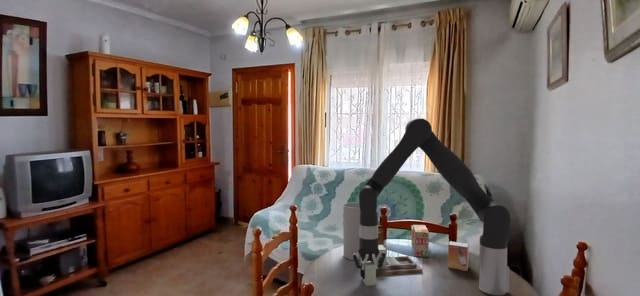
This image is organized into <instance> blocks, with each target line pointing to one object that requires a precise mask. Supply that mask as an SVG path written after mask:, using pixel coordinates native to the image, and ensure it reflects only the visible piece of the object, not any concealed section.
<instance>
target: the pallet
mask: <svg viewBox="0 0 640 296" xmlns="http://www.w3.org/2000/svg"><path fill="white" fill-rule="evenodd" d="M422 273H423V268H422V267H420V265H418V264H417V262H415V261H414V260H413V259H412V258H411V257H410V256H408V255H405V256H404V255H403V256H387V265H383V266H382V267H379V268H378V269H377V277H379V276H381V277H382V276H396V275H407V274H408V275H409V274H411V275H412V274H422Z"/></svg>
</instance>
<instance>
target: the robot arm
mask: <svg viewBox="0 0 640 296" xmlns="http://www.w3.org/2000/svg"><path fill="white" fill-rule="evenodd" d="M418 148H419V149H420V150H421V151H422V152H423V153H424V154H425V155H426V156H427V158H428V159H429V161H430V162H431V163H432V165H433V166H434V167H435V169H436V170H437V172H438V173H439V174H440V175H441V176H442V177H443V179H444V180H445V181H446V182H447V183H448V184H449V186H451V188H453V189H454V190H455V191H456V193H458V194H459V195H460V196H461V197H462V198H463V199H464V200H465V201H466V202H467V203H468V204H469V206H470V207H471V209H472V210H473V212H474V213H475V214H476V216H477V217H478V219H479V220H480V221H481V222H482V224H483V227H482V228H483V229H482V235H480V236H479V257H478V258H479V262H478V263H479V267H478V270H479V271H478V272H479V273H478V288H479V290H480V291H481V292H483V293H485V294H488V295H491V296H505V295H507V294H509V293H510V267H509V266H508V243H509V241H510V237H511V221H512V220H511V213H510V211H509V209H508V208H507V207H506V206H504V205H503V204H500V203H498V202H497V201H495V199H493V198H492V197H491V196H489V195H488V193H486V191H484V189H483V188H482V187H481V186H480V185H479V182H478V181H477V178H476V177H475V175H474V173H473V172H472V171H471V169H470V168H469V167H468V166H467V164H466V163H465V162H464V161H463V160H462V159H461V158H460V157H459V156H458V155H457V154H456V153H454V151H452V150H451V149H450V148H448V146H446V145H445V144H444V143H443V142H442V141H440V139H439V137H437V135H436V134H435V133H434V131H433V128H432V124H431V122H430V121H428V120H427V119H425V118H422V117H416V118H411V119H409V120H408V122H407V123H406V125H405V130H404V134H403V135H402V137H401V140H400V141H399V143H398V144H397V145H396V146H395V148H394V149H393V150H391V152H390V153H389V154H388V155H387V156H386V157H385V158H384V159H383V160H382V162H381V163H380V164H379V165H378V167H377V168H376V169H375V171H374V173H373V174H372V176H371V177H370V178H369V179H368V181H366V183H365V184H364V185H363V187H362V188H361V189H360V191H359V194H358V200H359V205H360V228H359V251H358V252H357V253H352V256H353V259H354V260H353V261H354V262H353V263H354V265H355V267H356V269H359V274H360V277H361V279H362V278H363V279H365V270H364V269H365V264H366V263H367V262H368V261H372V262H373V263H374V264H376V278H377V277H378V276H377V269H378V268H379V267H382V265H383V262H384V259H385V256H386V254H385V252H384V251H379V249H378V223H379V219H378V218H379V217H378V211H377V208H378V197H379V196H380V194H381V193H382V191H383V190H384V189H385V187H387V186H388V185H389V184H390V183H391V181H393V179H394V177H395V176H396V175H397V174H398V172H399V171H400V170H401V168H402V167H403V165H404V164H405V162H406V161H407V160H408V159H409V158H410V156H411V155H413V153H414V152H415V151H417V149H418ZM378 254H379V256H380V257H379V260H378V263H377V261H376V257H377V256H378ZM359 255H360V256H361V260H360V263H359V261H358V260H357V259H358V256H359Z"/></svg>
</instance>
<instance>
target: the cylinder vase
mask: <svg viewBox="0 0 640 296" xmlns="http://www.w3.org/2000/svg"><path fill="white" fill-rule="evenodd" d="M342 209H343V212H342V213H343V215H342V216H343V217H342V218H343V220H342V221H343V222H342V224H343V226H342V227H343V234H342V235H343V236H342V237H343V238H342V239H343V257H344V258H345V259H347V260H350V261H354V259H353V256H352V253H357V252H358V251H359V228H360V205H359V202H357V201H355V202H347V203H344V204H343V207H342ZM357 260H358V262H361V256H360V255H359V256H358V259H357Z"/></svg>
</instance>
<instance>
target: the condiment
mask: <svg viewBox="0 0 640 296" xmlns="http://www.w3.org/2000/svg"><path fill="white" fill-rule="evenodd" d="M378 245H383V246H384V247H385V248H387V245H386V244H385V245H384V230H383V225H382V224H380V223H379V224H378Z"/></svg>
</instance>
